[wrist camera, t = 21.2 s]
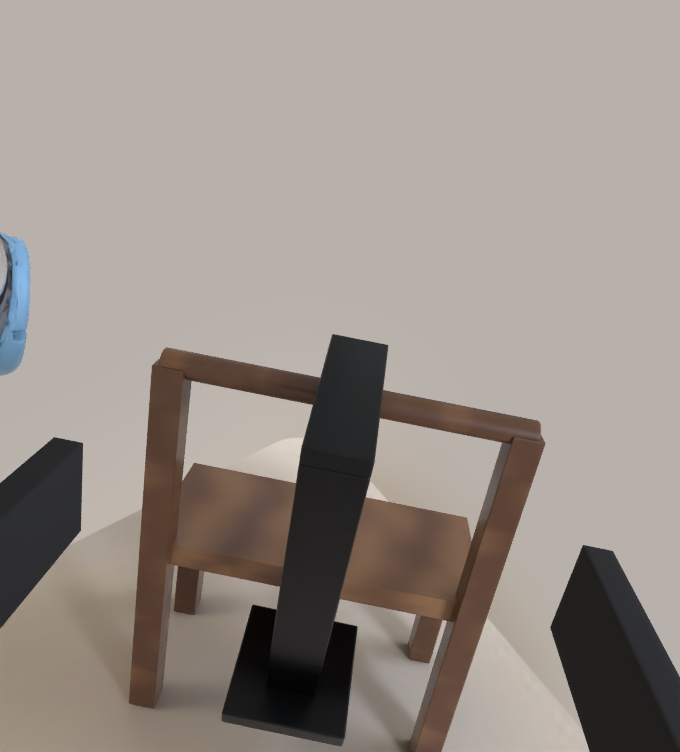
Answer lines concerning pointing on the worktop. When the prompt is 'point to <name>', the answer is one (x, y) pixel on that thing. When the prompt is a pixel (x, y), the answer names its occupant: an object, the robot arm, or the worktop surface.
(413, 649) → the chair
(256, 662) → the black pedestal stand
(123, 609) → the worktop surface
